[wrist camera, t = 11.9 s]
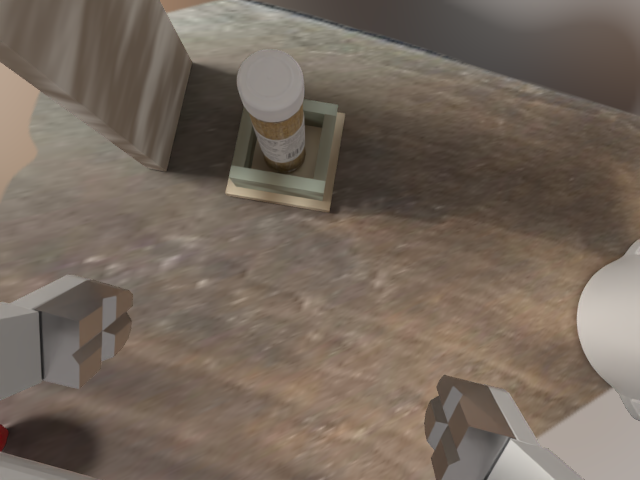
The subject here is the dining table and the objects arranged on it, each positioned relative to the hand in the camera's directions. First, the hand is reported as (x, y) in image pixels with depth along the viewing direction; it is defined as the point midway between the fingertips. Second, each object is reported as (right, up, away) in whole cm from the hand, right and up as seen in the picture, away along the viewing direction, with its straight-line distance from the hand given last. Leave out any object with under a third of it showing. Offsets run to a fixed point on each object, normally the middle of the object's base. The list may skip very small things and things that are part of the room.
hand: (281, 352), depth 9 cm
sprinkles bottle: (-3, +12, +27) cm, 30 cm away
